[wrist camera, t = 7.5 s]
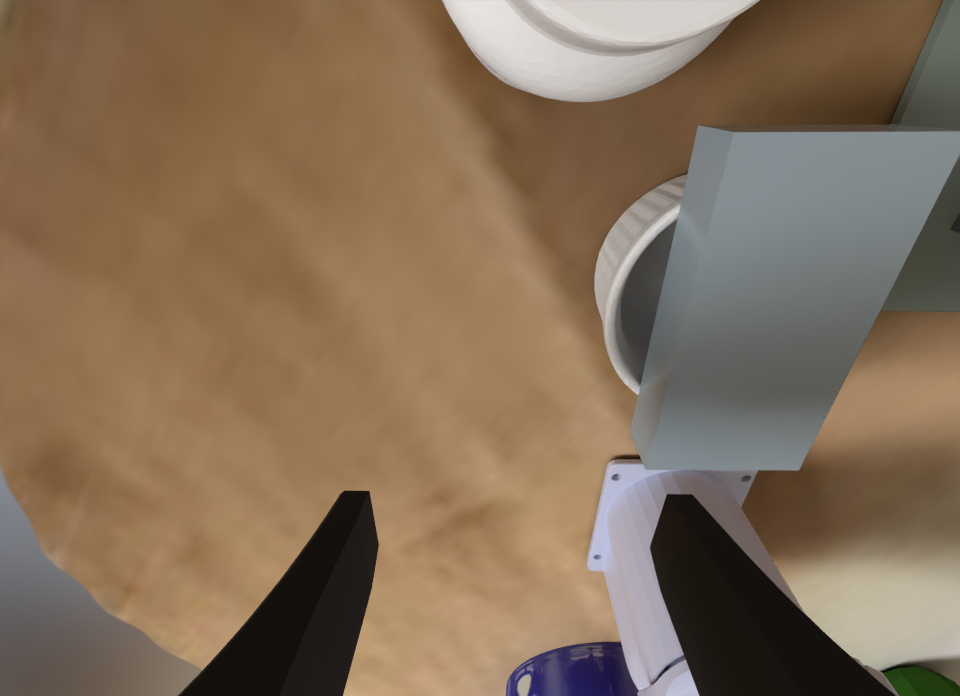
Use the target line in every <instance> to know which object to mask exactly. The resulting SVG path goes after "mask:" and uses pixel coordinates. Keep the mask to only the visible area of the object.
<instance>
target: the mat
mask: <svg viewBox="0 0 960 696" xmlns="http://www.w3.org/2000/svg"><path fill="white" fill-rule="evenodd" d="M890 124H903V125H913V126H923V127H933V128H943V129H953V130H960V0H943V2H942V5H941V7H940V9H939V12H938V14H937V16H936V19H935V21H934V23H933V25H932V28H931V30H930V32H929V35H928V37H927V39H926V42H925V44H924V46H923V49H922V51H921V53H920V56H919V58H918V60H917V63H916V65H915V67H914V69H913V72H912V74H911V76H910V79H909V81H908V83H907V86H906V88H905V90H904V93H903V95H902V97H901V100H900V102H899V104H898V107H897V109H896V111H895V114H894V116H893V118H892V120H891V123H890ZM959 213H960V155H959V157H958V159H957V161H956V163H955V165H954V167H953V169H952V171H951V173H950V175H949V177H948V179H947V181H946V183H945V184H944V186H943V188H942V190H941V192H940V194H939V196H938V198H937V200H936V202H935V204H934V206H933V208H932V210H931V212H930V214H929V216H928V218H927V220H926V222H925V224H924V226H923V228H922V230H921V232H920V234H919V236H918V237H917V239H916V241H915V243H914V245H913V247H912V249H911V251H910V253H909V255H908V257H907V259H906V261H905V263H904V265H903V267H902V269H901V271H900V273H899V275H898V277H897V279H896V281H895V283H894V285H893V287H892V289H891V291H890V292H889V294H888V296H887V298H886V300H885V302H884V304H883V306H882V308H881V310H880V311H936V312H960V233H958V232H955V231H952V230H950V229H951V227H952V225H953V223H954V222H955V220H956V218H957V216H958V214H959Z"/></svg>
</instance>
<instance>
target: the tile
mask: <svg viewBox="0 0 960 696" xmlns="http://www.w3.org/2000/svg"><path fill="white" fill-rule="evenodd" d="M959 155H960V130H953V129H943V128H933V127H923V126H913V125H903V124H888V125H698V129H697V134H696V138H695V143H694V147H693V152H692V156H691V161H690V165H689V170H688V174H687V179H686V183H685V188H684V192H683V196H682V201H681V205H680V210H679V214H678V219H677V223H676V228H675V232H674V237H673V241H672V246H671V250H670V255H669V259H668V264H667V268H666V273H665V277H664V282H663V286H662V291H661V295H660V300H659V304H658V309H657V313H656V318H655V322H654V327H653V331H652V336H651V340H650V345H649V349H648V354H647V358H646V363H645V367H644V371H643V376H642V380H641V385H640V390H639V394H638V398H637V403H636V407H635V412H634V416H633V421H632V425H631V430H630V434H631V436H632V439H633V441H634V443H635V446H636V448H637V451H638V453H639V455H640V458H641V460H642V463H643V465H644V467H645V470H799V469H800V467H801V465H802V463H803V461H804V459H805V457H806V455H807V453H808V451H809V450H810V448H811V446H812V444H813V442H814V440H815V438H816V436H817V434H818V432H819V430H820V428H821V426H822V424H823V422H824V420H825V418H826V416H827V414H828V412H829V410H830V408H831V406H832V404H833V402H834V400H835V398H836V397H837V395H838V393H839V391H840V389H841V387H842V385H843V383H844V381H845V379H846V377H847V375H848V373H849V371H850V369H851V367H852V365H853V363H854V361H855V359H856V357H857V355H858V353H859V351H860V349H861V347H862V345H863V344H864V342H865V340H866V338H867V336H868V334H869V332H870V330H871V328H872V326H873V324H874V322H875V320H876V318H877V316H878V314H879V312H880V310H881V308H882V306H883V304H884V302H885V300H886V298H887V296H888V294H889V292H890V291H891V289H892V287H893V285H894V283H895V281H896V279H897V277H898V275H899V273H900V271H901V269H902V267H903V265H904V263H905V261H906V259H907V257H908V255H909V253H910V251H911V249H912V247H913V245H914V243H915V241H916V239H917V237H918V236H919V234H920V232H921V230H922V228H923V226H924V224H925V222H926V220H927V218H928V216H929V214H930V212H931V210H932V208H933V206H934V204H935V202H936V200H937V198H938V196H939V194H940V192H941V190H942V188H943V186H944V184H945V183H946V181H947V179H948V177H949V175H950V173H951V171H952V169H953V167H954V165H955V163H956V161H957V159H958V157H959Z"/></svg>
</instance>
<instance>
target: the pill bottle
mask: <svg viewBox="0 0 960 696" xmlns="http://www.w3.org/2000/svg"><path fill="white" fill-rule="evenodd" d="M442 1H443V3H444V5H445V7H446V9H447V11H448V13H449V15H450V17H451V18H452V20H453V22H454V23H455V25H456V27H457V28H458V30H459V31H460V33H461V35H462V36H463V38H464V40H465V42H466V43H467V44H468V46H469V47H470V49H471V50H472V52H473V53H474V54H475V56H476V57H477V58H478V59H479V61H480V62H481V63H482V64H483V65H484V66H485V67H486V68H487V69H488V70H489V71H490V72H491V73H492V74H493V75H495V76H496V77H497V78H498V79H500V80H501V81H503V82H504V83H506V84H508V85H510V86H513V87H515V88H517V89H520V90H523V91H526V92H529V93H532V94H535V95H538V96H542V97H545V98H551V99H556V100H562V101H569V102H596V101H603V100H609V99H614V98H618V97H622V96H626V95H629V94H632V93H634V92H637V91H640V90H642V89H644V88H647V87H649V86H651V85H653V84H656V83H658V82H659V81H661V80H663V79H664V78H666V77H668V76H669V75H671V74H673V73H674V72H676V71H677V70H679V69H680V68H682V67H683V66H684V65H686V64H687V63H688V62H690V61H691V60H692V59H693V58H695V57H696V56H697V55H698V54H700V53H701V52H702V51H703V50H704V49H705V48H706V47H707V46H708V45H710V44H711V43H712V42H713V41H714V40H715V39H716V38H717V37H718V36H719V35H720V34H721V32H722V31H723V30H724V29H725V28H726V27H727V26H728V25H729V24H730V23H731V21H732V20H733V19H734V18H735V17H736V16H738V15H739V14H741V13H743V12H744V11H746V10H747V9H749V8H750V7H752V6H753V5H755V4H756V3H757V2H758V1H760V0H442Z"/></svg>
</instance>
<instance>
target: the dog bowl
mask: <svg viewBox="0 0 960 696" xmlns="http://www.w3.org/2000/svg"><path fill="white" fill-rule="evenodd" d="M638 691H639V690H638V689H637V687H636V685H635V684H634V682H633V680H632V678H631V675H630V673H629V670H628V667H627V664H626V660H625V656H624V652H623V648H622V644H621V643H610V642H601V643H586V644H578V645H572V646H566V647H562V648H558V649H554V650H551V651H548V652H545V653H542V654H540V655H537V656H535V657H533V658H531V659H529V660H527V661H526V662H524V663H523V664H521V665H520V666H519V667H518V668H517V669H516V670H515V671H514V672H513V673H512V674H511V676H510V677H509V679H508V682H507V687H506V696H638V694H637V693H638Z"/></svg>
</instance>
